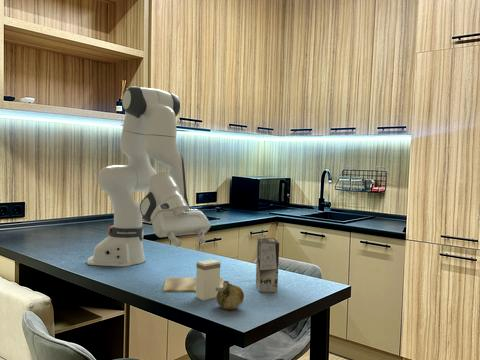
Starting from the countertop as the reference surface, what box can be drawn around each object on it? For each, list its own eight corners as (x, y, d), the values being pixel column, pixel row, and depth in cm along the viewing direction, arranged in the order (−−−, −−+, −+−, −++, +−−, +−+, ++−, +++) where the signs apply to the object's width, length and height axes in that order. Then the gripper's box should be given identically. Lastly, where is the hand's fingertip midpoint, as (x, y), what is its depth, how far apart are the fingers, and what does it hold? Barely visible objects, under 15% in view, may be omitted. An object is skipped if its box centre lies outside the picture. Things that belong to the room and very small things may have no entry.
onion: (241, 313, 119) (241, 285, 118) (212, 311, 120) (213, 283, 120) (245, 304, 126) (246, 278, 126) (218, 302, 128) (219, 276, 127)
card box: (195, 296, 132) (196, 261, 132) (211, 293, 136) (212, 259, 136) (203, 300, 129) (204, 264, 128) (219, 296, 133) (220, 261, 133)
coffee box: (278, 292, 139) (279, 243, 139) (258, 292, 139) (260, 242, 138) (273, 283, 149) (275, 237, 148) (255, 283, 148) (256, 237, 147)
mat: (162, 291, 136) (162, 289, 136) (165, 279, 150) (165, 277, 150) (225, 291, 138) (225, 289, 138) (222, 279, 152) (222, 277, 152)
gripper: (196, 214, 154) (212, 246, 147) (145, 218, 141) (160, 252, 134) (204, 203, 151) (220, 235, 144) (152, 205, 137) (168, 240, 130)
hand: (191, 243), depth 139 cm, fingers open, 8 cm apart
